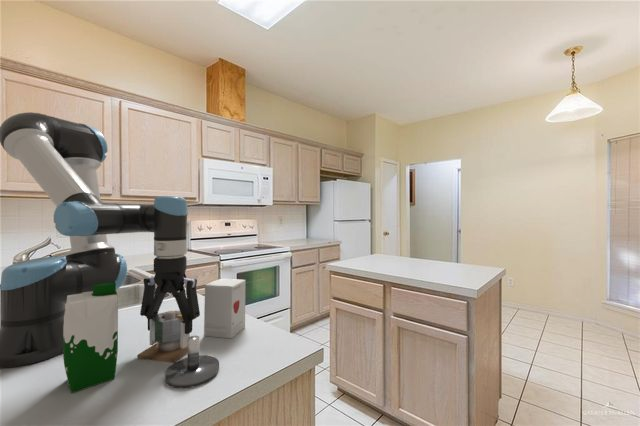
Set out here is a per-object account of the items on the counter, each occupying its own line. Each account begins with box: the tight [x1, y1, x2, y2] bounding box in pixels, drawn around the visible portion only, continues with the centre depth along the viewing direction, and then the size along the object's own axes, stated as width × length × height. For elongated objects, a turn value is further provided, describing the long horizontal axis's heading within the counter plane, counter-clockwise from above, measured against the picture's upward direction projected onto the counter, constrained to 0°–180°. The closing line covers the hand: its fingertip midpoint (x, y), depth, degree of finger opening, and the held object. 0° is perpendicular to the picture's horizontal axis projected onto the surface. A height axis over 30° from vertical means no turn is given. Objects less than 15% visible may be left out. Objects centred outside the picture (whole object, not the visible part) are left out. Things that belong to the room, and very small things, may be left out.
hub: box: [164, 335, 220, 389], centre depth 64 cm, size 11×11×8 cm
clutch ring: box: [151, 310, 184, 343], centre depth 74 cm, size 8×8×5 cm
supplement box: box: [203, 278, 247, 339], centre depth 86 cm, size 9×9×15 cm
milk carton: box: [62, 282, 119, 394], centre depth 61 cm, size 9×9×20 cm
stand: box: [136, 310, 187, 364], centre depth 73 cm, size 10×10×10 cm
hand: (169, 344), depth 74 cm, fingers closed on clutch ring, 8 cm apart
